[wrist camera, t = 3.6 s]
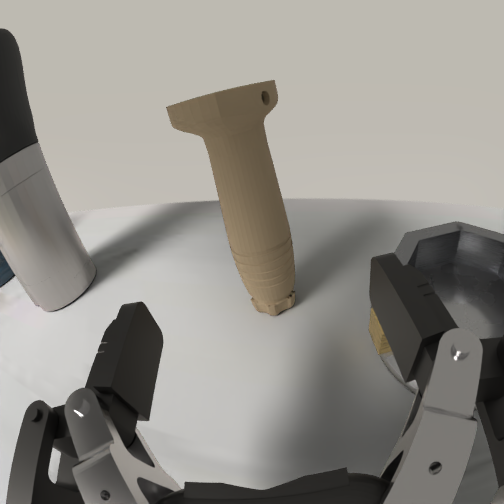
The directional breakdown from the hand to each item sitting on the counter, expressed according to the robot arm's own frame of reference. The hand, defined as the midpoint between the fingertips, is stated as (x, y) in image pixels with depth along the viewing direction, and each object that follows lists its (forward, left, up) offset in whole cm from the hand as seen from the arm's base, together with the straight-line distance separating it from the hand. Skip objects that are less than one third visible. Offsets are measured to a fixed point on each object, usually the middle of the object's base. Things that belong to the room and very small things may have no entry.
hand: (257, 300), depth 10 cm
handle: (0, +9, -9) cm, 12 cm away
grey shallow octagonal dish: (+13, +3, -9) cm, 16 cm away
